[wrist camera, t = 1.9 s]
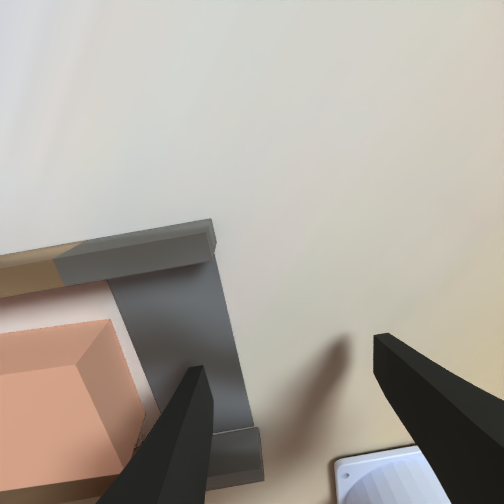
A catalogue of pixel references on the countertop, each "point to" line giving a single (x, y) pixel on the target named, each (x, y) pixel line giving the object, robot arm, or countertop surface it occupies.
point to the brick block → (65, 405)
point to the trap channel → (155, 335)
